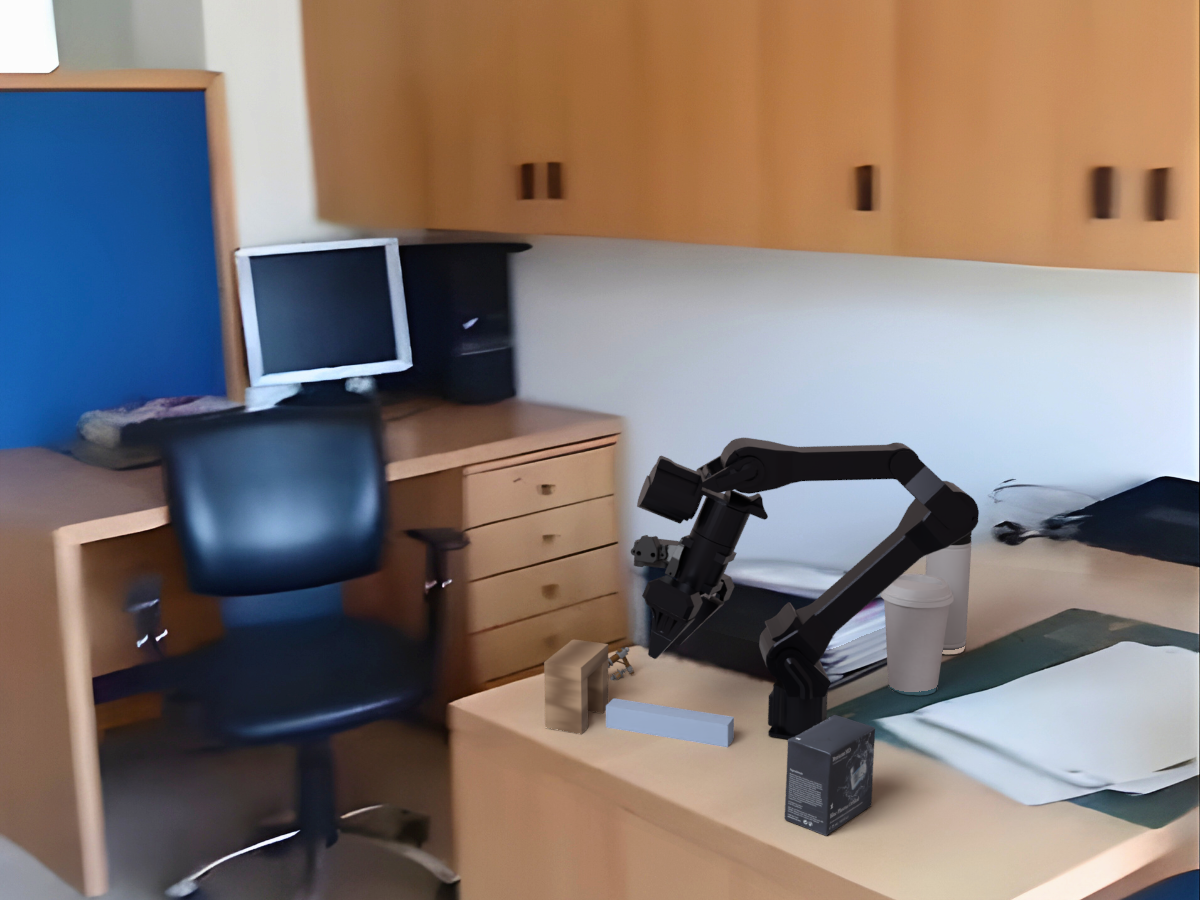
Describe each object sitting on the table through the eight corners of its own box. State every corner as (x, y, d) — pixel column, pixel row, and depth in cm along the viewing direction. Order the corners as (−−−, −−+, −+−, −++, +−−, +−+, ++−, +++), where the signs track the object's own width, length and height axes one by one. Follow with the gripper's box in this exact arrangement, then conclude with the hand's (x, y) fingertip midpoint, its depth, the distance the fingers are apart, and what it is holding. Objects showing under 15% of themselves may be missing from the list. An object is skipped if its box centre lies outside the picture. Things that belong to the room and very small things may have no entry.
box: (827, 838, 130) (830, 753, 128) (782, 821, 133) (785, 738, 131) (873, 807, 136) (877, 726, 134) (830, 791, 140) (832, 712, 138)
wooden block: (608, 707, 163) (608, 644, 162) (581, 734, 155) (581, 667, 154) (573, 702, 165) (572, 639, 164) (545, 728, 157) (544, 662, 155)
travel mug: (918, 653, 183) (925, 521, 179) (925, 639, 189) (931, 511, 185) (962, 658, 180) (970, 525, 177) (967, 644, 186) (974, 514, 183)
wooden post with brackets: (641, 671, 174) (629, 645, 172) (594, 702, 171) (582, 676, 170) (635, 667, 176) (623, 641, 174) (589, 698, 173) (576, 672, 172)
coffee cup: (963, 689, 169) (969, 583, 166) (919, 706, 163) (924, 597, 160) (905, 669, 177) (910, 567, 174) (862, 685, 171) (866, 580, 168)
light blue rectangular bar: (733, 741, 154) (733, 716, 153) (727, 749, 151) (727, 725, 151) (613, 721, 160) (613, 698, 159) (605, 729, 157) (605, 705, 157)
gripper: (679, 503, 162) (633, 609, 165) (630, 514, 145) (580, 632, 148) (755, 541, 159) (707, 648, 161) (715, 556, 141) (661, 677, 144)
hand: (664, 650), depth 154 cm, fingers open, 9 cm apart
